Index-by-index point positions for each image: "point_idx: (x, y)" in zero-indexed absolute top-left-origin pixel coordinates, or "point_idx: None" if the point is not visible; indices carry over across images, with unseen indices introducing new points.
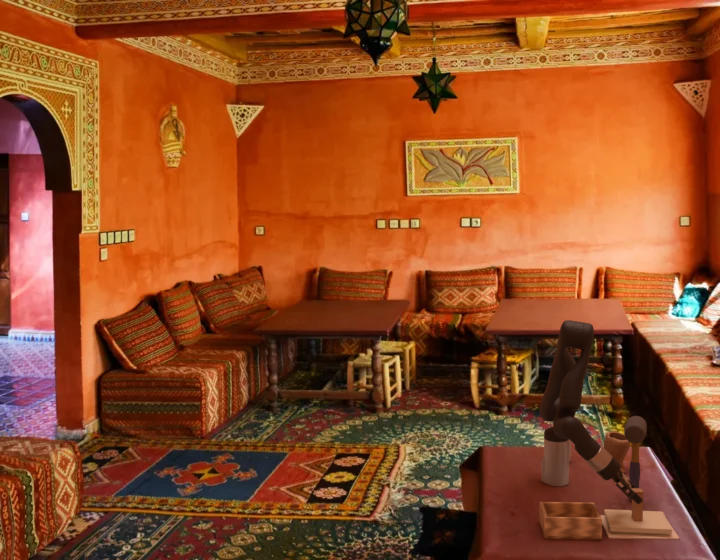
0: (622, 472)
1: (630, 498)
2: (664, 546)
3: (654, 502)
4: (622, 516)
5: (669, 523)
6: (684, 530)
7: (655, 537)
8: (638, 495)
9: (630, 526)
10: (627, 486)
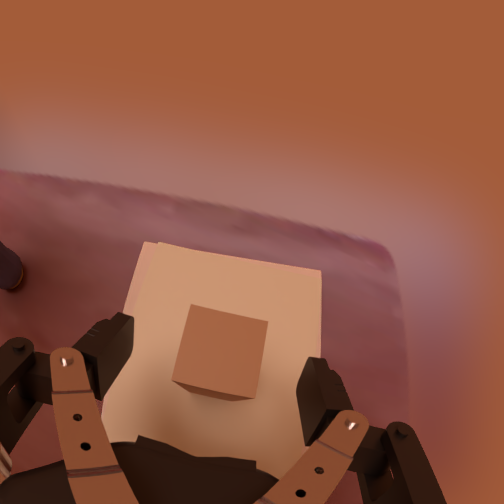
0: (91, 497)
1: (9, 287)
2: (367, 336)
3: (46, 226)
4: (179, 429)
5: (205, 252)
6: (253, 230)
7: (316, 346)
8: (322, 380)
9: (290, 431)
10: (438, 486)
